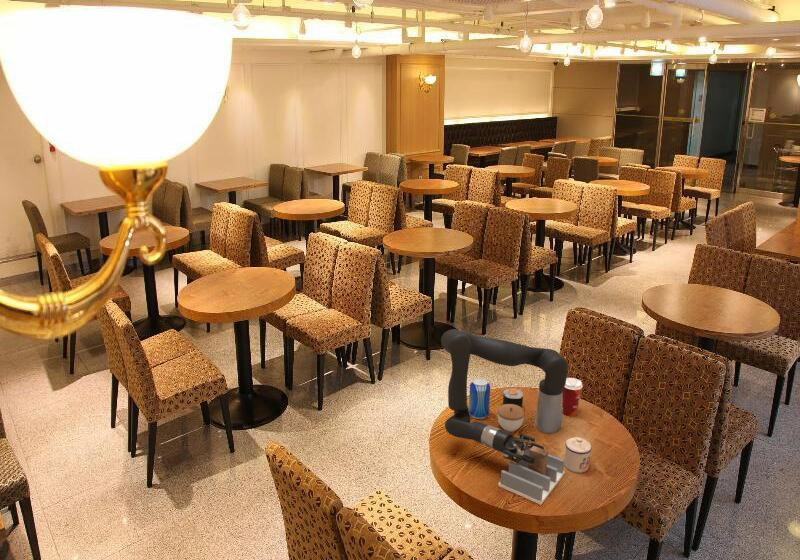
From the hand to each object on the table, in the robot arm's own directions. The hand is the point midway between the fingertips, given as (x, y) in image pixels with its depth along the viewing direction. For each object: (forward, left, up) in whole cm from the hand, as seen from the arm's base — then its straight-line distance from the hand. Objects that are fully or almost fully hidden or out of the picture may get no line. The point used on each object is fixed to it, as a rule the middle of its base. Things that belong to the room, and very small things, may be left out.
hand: (538, 455), depth 204 cm
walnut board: (0, 0, -10) cm, 10 cm away
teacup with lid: (-20, -3, -11) cm, 23 cm away
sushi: (-19, -44, -11) cm, 50 cm away
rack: (+1, -2, -11) cm, 11 cm away
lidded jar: (-10, -33, -11) cm, 36 cm away
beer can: (-3, -45, -11) cm, 47 cm away
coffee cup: (-39, -31, -11) cm, 51 cm away
